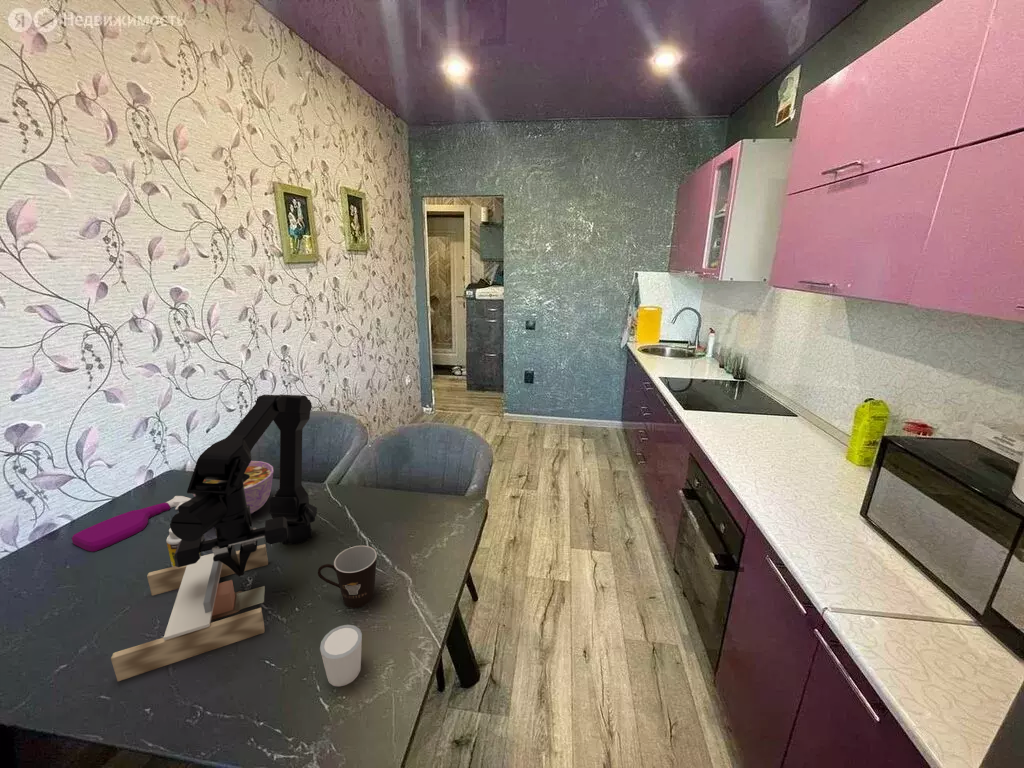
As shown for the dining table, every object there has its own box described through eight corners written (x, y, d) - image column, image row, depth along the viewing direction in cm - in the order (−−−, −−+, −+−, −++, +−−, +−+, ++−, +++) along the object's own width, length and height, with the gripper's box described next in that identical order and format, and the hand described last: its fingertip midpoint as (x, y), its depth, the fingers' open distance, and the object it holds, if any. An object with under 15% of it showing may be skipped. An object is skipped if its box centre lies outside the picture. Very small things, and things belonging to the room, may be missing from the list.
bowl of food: (178, 526, 111) (169, 488, 108) (240, 490, 130) (234, 457, 127) (238, 538, 107) (232, 499, 104) (293, 499, 126) (289, 465, 123)
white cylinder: (331, 654, 76) (328, 624, 74) (368, 653, 76) (366, 623, 75) (317, 691, 69) (313, 659, 67) (358, 688, 70) (355, 657, 68)
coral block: (235, 595, 87) (232, 579, 86) (233, 609, 84) (229, 593, 83) (211, 602, 85) (207, 586, 84) (208, 617, 82) (204, 600, 81)
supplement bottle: (171, 575, 94) (162, 537, 91) (173, 560, 98) (165, 524, 96) (200, 566, 97) (193, 529, 94) (202, 553, 101) (195, 517, 99)
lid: (224, 552, 93) (222, 542, 92) (209, 626, 74) (207, 614, 73) (189, 561, 90) (187, 550, 89) (164, 640, 71) (160, 627, 70)
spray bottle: (69, 544, 103) (176, 498, 126) (94, 556, 100) (199, 506, 122) (67, 534, 103) (174, 489, 125) (91, 545, 99) (198, 497, 121)
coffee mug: (387, 588, 92) (384, 551, 89) (362, 617, 84) (358, 577, 81) (345, 575, 96) (342, 538, 93) (317, 601, 88) (313, 562, 85)
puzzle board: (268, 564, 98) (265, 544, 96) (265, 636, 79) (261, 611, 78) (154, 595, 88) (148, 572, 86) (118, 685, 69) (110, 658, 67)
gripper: (283, 481, 92) (290, 540, 96) (179, 500, 83) (193, 564, 87) (283, 505, 82) (291, 569, 87) (166, 530, 74) (182, 600, 78)
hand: (241, 574), depth 85 cm, fingers closed
